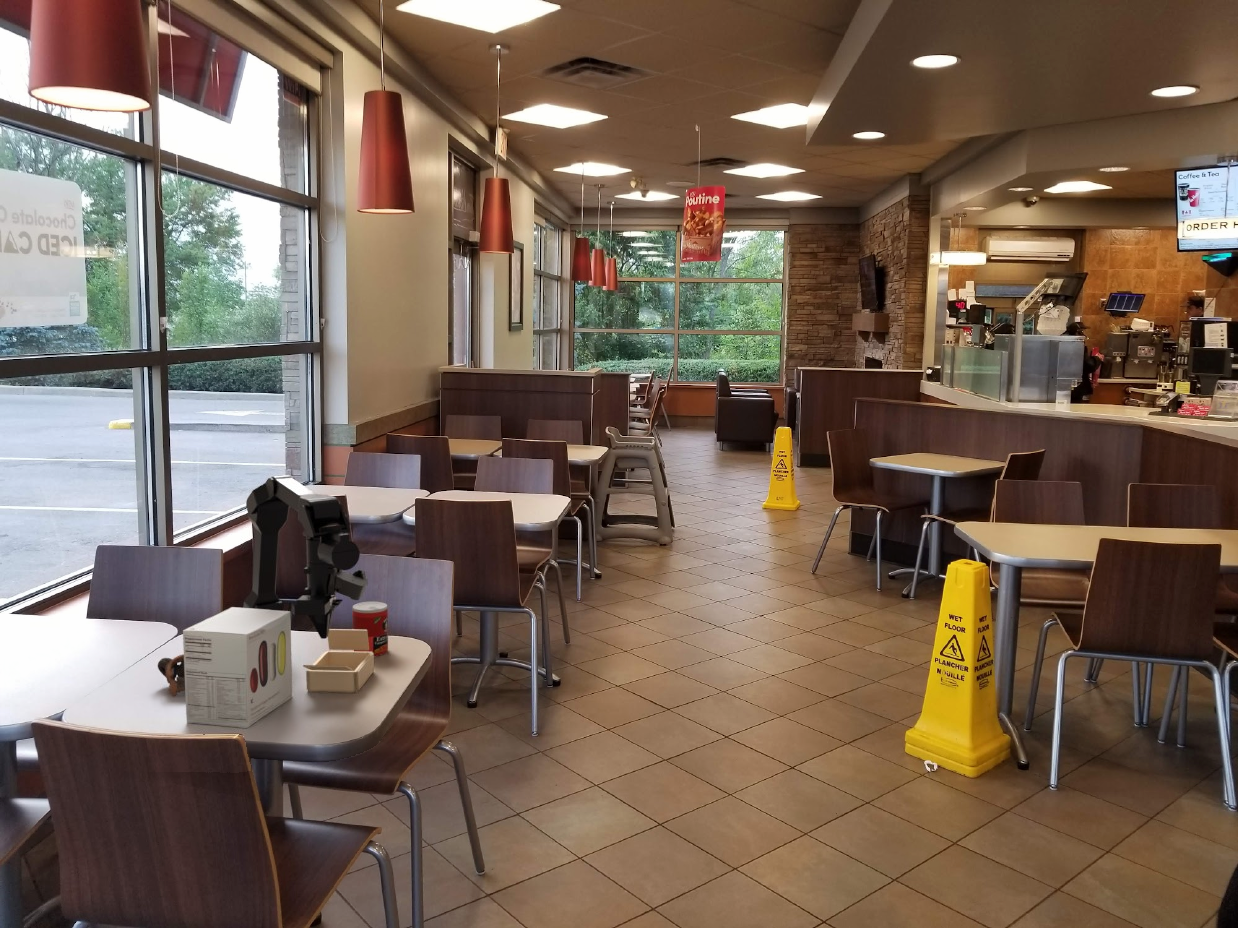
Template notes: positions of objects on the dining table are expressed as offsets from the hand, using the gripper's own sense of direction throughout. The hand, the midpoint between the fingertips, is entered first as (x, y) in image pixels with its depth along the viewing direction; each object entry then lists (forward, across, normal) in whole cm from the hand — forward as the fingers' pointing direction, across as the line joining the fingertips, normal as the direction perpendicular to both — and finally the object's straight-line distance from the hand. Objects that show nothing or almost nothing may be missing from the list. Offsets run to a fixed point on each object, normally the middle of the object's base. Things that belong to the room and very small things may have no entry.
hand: (324, 638), depth 196 cm
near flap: (+7, +2, 0) cm, 7 cm away
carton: (+13, +11, 0) cm, 17 cm away
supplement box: (+13, -5, +15) cm, 20 cm away
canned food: (+13, +31, -1) cm, 34 cm away
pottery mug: (+13, +6, +31) cm, 34 cm away
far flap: (+5, +16, 0) cm, 17 cm away
